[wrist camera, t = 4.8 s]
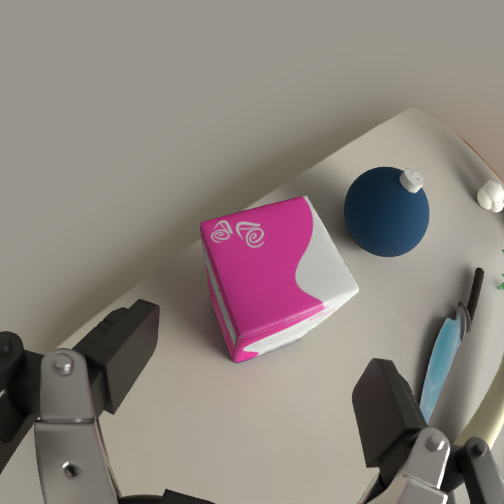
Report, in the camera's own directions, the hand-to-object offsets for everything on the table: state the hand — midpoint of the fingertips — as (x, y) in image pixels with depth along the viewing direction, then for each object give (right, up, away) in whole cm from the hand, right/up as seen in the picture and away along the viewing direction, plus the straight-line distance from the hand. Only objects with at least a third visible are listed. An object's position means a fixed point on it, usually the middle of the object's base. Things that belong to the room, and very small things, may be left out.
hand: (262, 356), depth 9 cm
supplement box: (0, -2, +13) cm, 13 cm away
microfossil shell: (+38, +11, +24) cm, 47 cm away
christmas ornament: (+12, +5, +18) cm, 22 cm away
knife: (+20, -6, +13) cm, 25 cm away
